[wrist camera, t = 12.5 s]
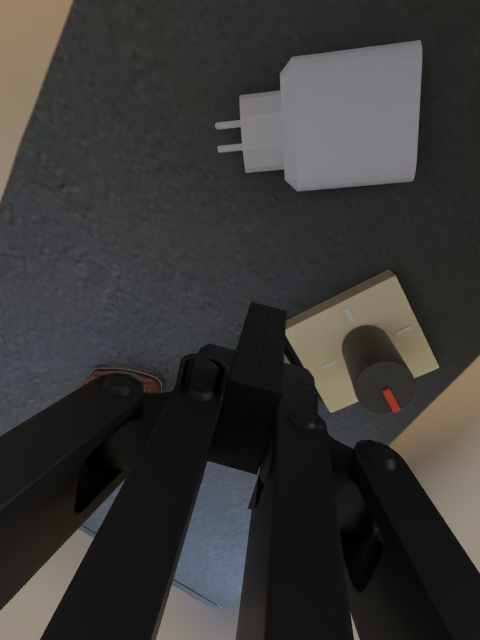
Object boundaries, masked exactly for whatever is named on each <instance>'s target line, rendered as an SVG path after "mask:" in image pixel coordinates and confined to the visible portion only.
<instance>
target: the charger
mask: <svg viewBox="0 0 480 640" xmlns="http://www.w3.org/2000/svg"><path fill="white" fill-rule="evenodd" d="M421 73H422V44H421V40H418V41H410V42H402V43H395V44H387V45H380V46H372V47H364V48H357V49H349V50H341V51H334V52H326V53H319V54H311V55H303V56H296V57H292V58H291V59H290V61H289V62H288V63H287V65H286V66H285V68H284V69H283V70H282V72H281V73H280V89H281V90H280V91H271V92H263V93H255V94H247V95H240V99H239V100H240V120H235V121H226V122H217V123H216V124H215V128H216V129H217V130H220V129H229V128H238V127H241V135H242V143H241V144H231V145H222V146H218V148H217V149H218V152H219V153H222V152H232V151H242V150H243V157H244V165H245V172H246V173H251V172H261V171H272V170H282V169H284V172H285V181H287V182H288V183H289V184H290V185H291V186H292V187H293V188H294V189H295V190H296V191H297V192H299V191H310V190H321V189H333V188H344V187H356V186H367V185H378V184H390V183H401V182H412V181H413V180H414V177H415V172H416V163H417V147H418V129H419V110H420V92H421Z"/></svg>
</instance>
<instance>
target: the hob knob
mask: <svg viewBox="0 0 480 640" xmlns="http://www.w3.org/2000/svg"><path fill="white" fill-rule="evenodd" d="M342 354H343V357H344V360H345V363H346V366H347V369H348V373H349V376H350V379H351V382H352V385H353V388H354V392H355V395H356V397H357V399H358V401H359V402H360V403H361V404H362V405H363V406H364V407H366V408H367V409H369V410H372V411H375V412H381V413H386V412H392V411H393V413H396V412H399V411H401V409H400V408H402V407H403V406H404V405H406V404H407V403H408V402H409V401H410V399H411V398H412V396H413V394H414V391H415V379H414V376H413V374H412V373H411V371H410V370H409V368H408V366H407V365H406V363H405V362H404V360H403V358H402V357H401V355H400V354H399V352H398V351H397V349H396V347H395V346H394V344H393V343H392V341H391V340H390V338H389V336H388V335H387V334H386V332H385V331H383V330H382V329H380V328H378V327H376V326H371V325H365V326H360V327H357V328H355V329H353V330H352V331H350V332H349V333H348V334H347V335H346V337H345V338H344V340H343V343H342Z"/></svg>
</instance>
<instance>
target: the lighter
mask: <svg viewBox="0 0 480 640" xmlns="http://www.w3.org/2000/svg"><path fill="white" fill-rule="evenodd" d="M111 373H120V374H121V373H122V374H127V375H130V376H133V377H135V378H136V379H138V380H140V381H141V383H142V384H143V385H144V392H148V393H161V392H162V390H163V388H164V380H163V378H162V377H161V376H160V375H159V374H158V373H155V372H152V371H149V370H146V369H143V368H138V367H133V366H128V365H116V364H109V365H98V366H96V367H95V368H94V369H93V370H92V371H91V373H90V376H89V377H88V378H87V379H86V380H85V381H84V382H83V383H82V384H81V385H80V386H79V387H78V388H77V389H79V388H80V387H82V386H84V385H85V384H87V383H88V382H90V381H92V380H93V379H95V378H97V377H99V376H102V375H104V374H111ZM77 389H76V390H77Z"/></svg>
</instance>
